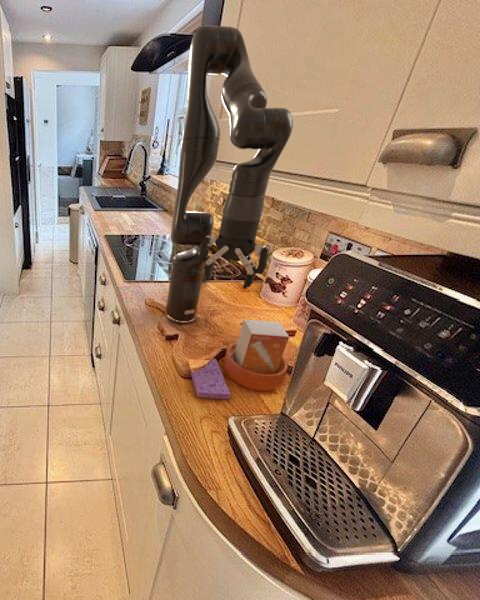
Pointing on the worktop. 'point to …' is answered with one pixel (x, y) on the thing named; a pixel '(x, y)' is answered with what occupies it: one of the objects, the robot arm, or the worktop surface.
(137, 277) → the worktop surface
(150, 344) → the worktop surface
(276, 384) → the bowl
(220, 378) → the sponge
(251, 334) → the small box
